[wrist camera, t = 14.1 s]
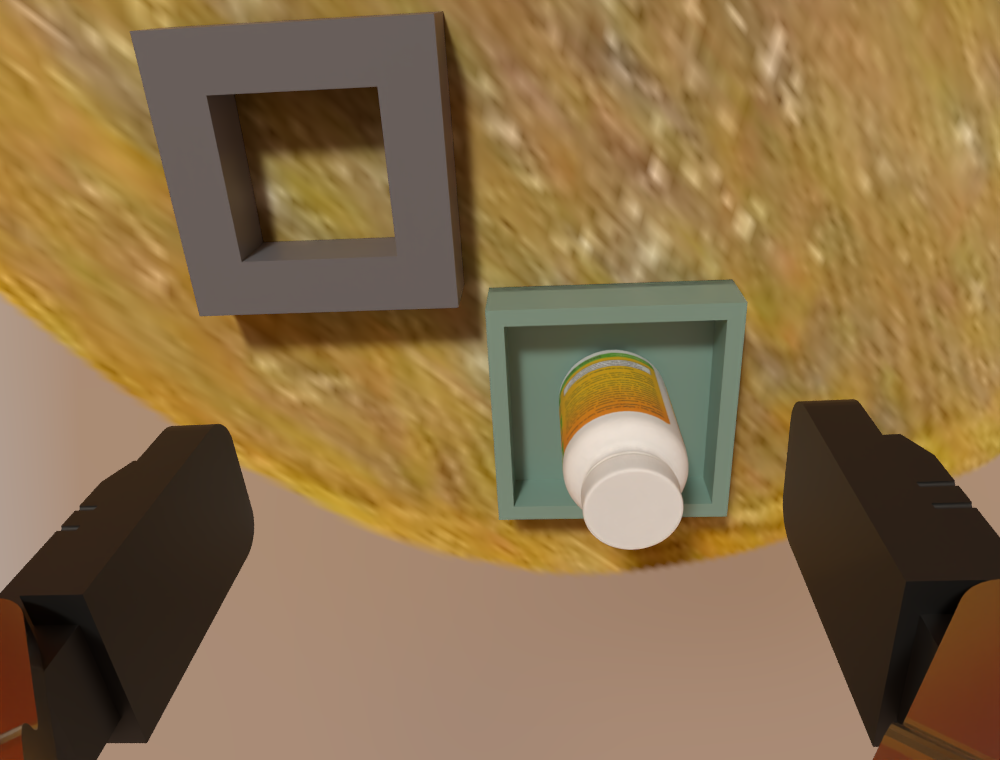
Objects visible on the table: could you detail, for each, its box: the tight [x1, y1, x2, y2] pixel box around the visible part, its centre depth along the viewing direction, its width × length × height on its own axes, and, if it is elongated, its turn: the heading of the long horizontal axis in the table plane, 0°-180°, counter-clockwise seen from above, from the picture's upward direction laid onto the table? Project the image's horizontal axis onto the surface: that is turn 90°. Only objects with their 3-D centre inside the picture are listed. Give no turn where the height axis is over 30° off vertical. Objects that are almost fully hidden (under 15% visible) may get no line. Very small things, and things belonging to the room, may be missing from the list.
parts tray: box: [485, 280, 747, 520], centre depth 38 cm, size 12×12×3 cm
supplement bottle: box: [559, 350, 688, 550], centre depth 35 cm, size 5×5×10 cm
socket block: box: [130, 11, 464, 316], centre depth 34 cm, size 12×12×3 cm
